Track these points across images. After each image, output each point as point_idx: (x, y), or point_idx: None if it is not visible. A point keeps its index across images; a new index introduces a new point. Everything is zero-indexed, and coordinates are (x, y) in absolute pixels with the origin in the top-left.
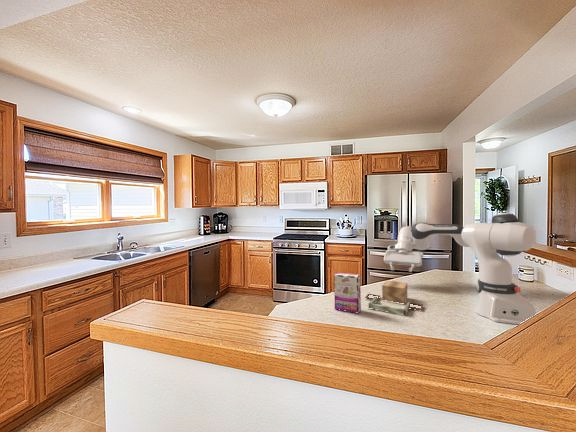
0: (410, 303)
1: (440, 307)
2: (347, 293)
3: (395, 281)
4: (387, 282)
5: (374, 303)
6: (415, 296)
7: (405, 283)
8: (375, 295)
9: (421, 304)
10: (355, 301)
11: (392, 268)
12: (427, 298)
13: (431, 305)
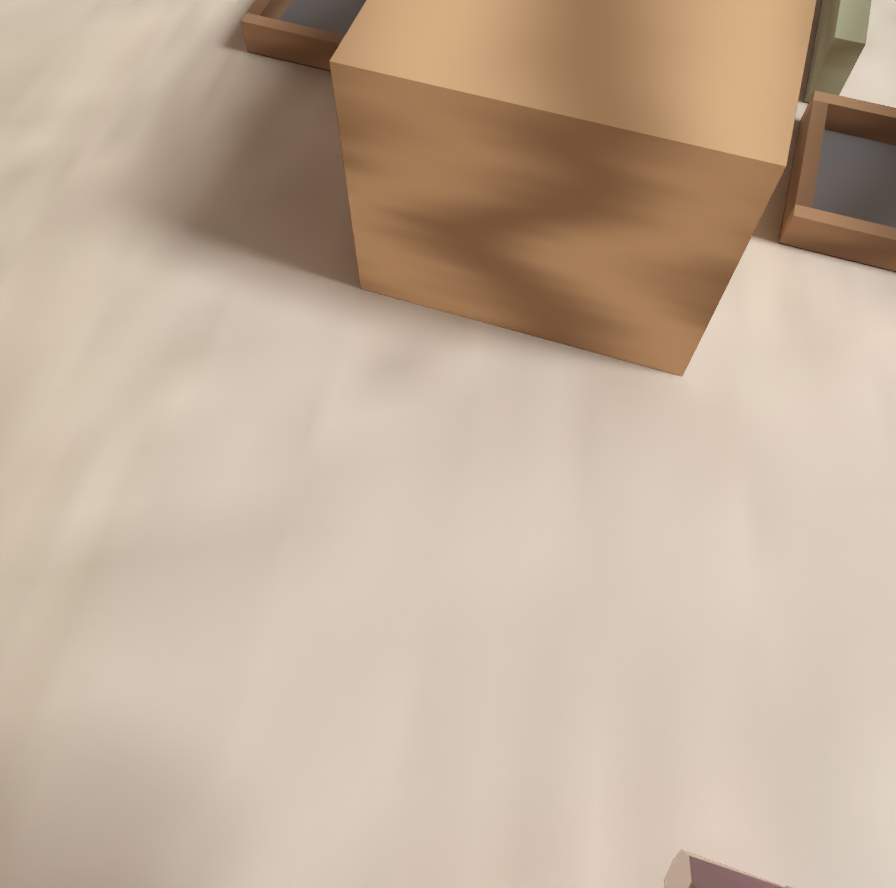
0: None
1: (36, 68)
2: None
3: (582, 116)
4: (758, 41)
5: (824, 14)
6: (199, 386)
7: (381, 32)
8: (867, 227)
9: (259, 20)
10: None
11: (733, 874)
12: (35, 326)
13: (117, 104)
